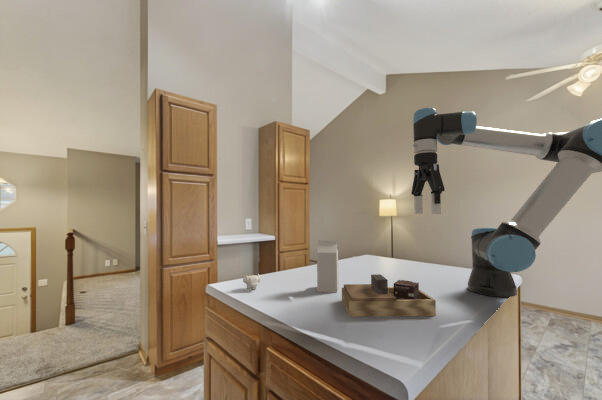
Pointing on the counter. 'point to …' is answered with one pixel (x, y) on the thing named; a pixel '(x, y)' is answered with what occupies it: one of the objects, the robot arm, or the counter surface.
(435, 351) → the counter surface
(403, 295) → the box
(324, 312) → the counter surface
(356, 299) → the lid
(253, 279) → the elephant figurine
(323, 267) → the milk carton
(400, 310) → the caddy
